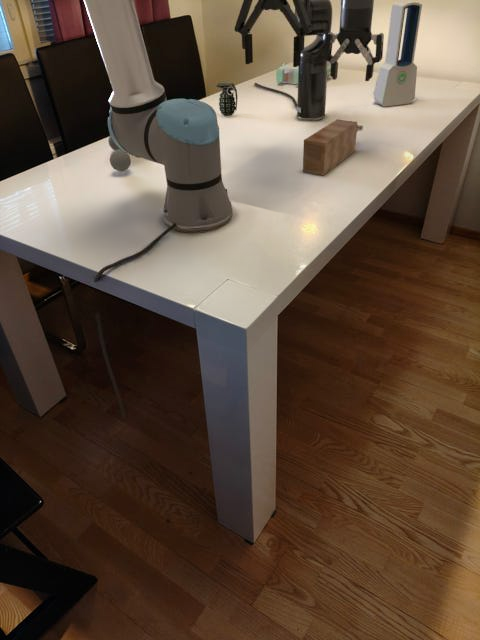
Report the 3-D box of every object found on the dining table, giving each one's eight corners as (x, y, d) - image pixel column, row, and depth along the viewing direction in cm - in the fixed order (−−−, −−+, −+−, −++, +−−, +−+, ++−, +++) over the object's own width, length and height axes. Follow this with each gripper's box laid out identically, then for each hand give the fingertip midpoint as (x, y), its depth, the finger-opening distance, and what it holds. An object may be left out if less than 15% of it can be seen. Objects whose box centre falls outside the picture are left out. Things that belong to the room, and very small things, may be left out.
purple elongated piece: (348, 138, 142) (349, 115, 138) (363, 140, 140) (365, 117, 136) (310, 164, 127) (311, 140, 123) (326, 167, 124) (328, 143, 121)
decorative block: (299, 55, 215) (340, 58, 206) (298, 71, 219) (339, 75, 210) (267, 66, 199) (310, 70, 190) (267, 83, 203) (309, 88, 194)
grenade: (217, 117, 168) (214, 86, 162) (221, 112, 172) (219, 82, 166) (235, 117, 166) (233, 86, 160) (239, 113, 171) (238, 82, 165)
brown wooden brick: (334, 148, 138) (337, 119, 133) (354, 151, 135) (357, 121, 130) (302, 171, 126) (303, 139, 121) (323, 175, 123) (325, 143, 118)
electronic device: (382, 107, 168) (394, 4, 149) (371, 102, 174) (382, 2, 155) (414, 102, 170) (430, 0, 152) (403, 98, 176) (417, -1, 158)
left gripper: (329, -41, 109) (323, 64, 122) (233, -37, 120) (237, 59, 133) (316, -40, 104) (312, 70, 117) (217, -36, 114) (223, 64, 127)
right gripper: (390, 3, 115) (381, 77, 125) (332, 3, 120) (328, 75, 130) (384, 7, 110) (375, 84, 120) (323, 7, 115) (319, 81, 125)
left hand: (272, 64), depth 125 cm, fingers open, 13 cm apart
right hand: (350, 79), depth 125 cm, fingers open, 8 cm apart
